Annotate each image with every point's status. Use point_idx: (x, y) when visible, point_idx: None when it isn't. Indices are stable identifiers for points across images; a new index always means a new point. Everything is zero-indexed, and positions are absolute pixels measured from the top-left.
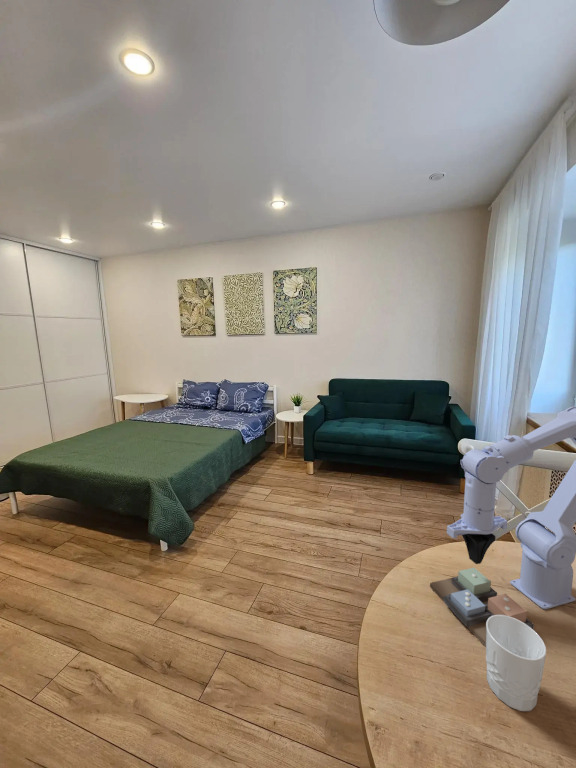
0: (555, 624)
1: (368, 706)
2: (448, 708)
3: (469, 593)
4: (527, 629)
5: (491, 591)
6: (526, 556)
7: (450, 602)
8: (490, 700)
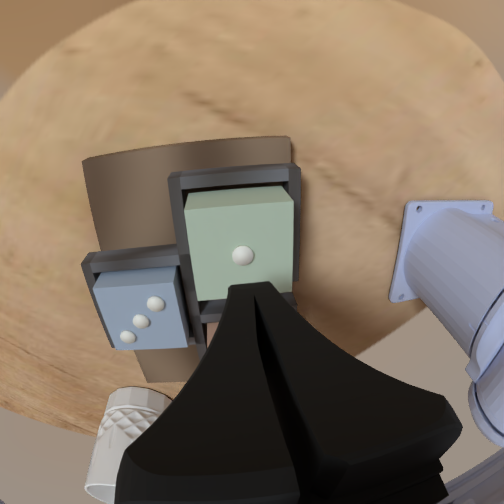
0: (367, 331)
1: None
2: (41, 397)
3: (162, 305)
4: None
5: None
6: (486, 319)
7: (91, 291)
8: (101, 408)
